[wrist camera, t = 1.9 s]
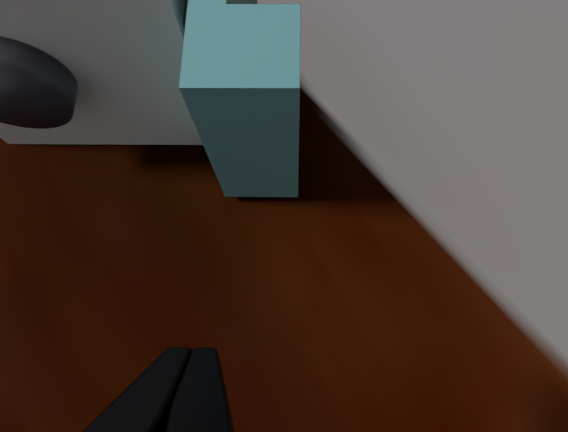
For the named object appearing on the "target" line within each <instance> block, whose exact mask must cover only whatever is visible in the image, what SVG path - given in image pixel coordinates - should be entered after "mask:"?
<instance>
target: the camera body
mask: <svg viewBox="0 0 568 432" xmlns="http://www.w3.org/2000/svg"><path fill="white" fill-rule="evenodd" d="M187 4H188V0H0V138H1V139H3V140H4V141H5V142H7V143H8V144H112V145H203V144H202V141H201V139H200V137H199V134H198V132H197V129H196V127H195V125H194V122H193V120H192V118H191V115H190V113H189V111H188V108H187V106H186V104H185V101H184V99H183V97H182V94H181V92H180V89H179V82H180V72H181V62H182V53H183V43H184V33H185V23H186V14H187Z"/></svg>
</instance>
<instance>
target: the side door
mask: <svg viewBox="0 0 568 432" xmlns="http://www.w3.org/2000/svg"><path fill="white" fill-rule="evenodd" d="M179 89H180V92H181V94H182V97H183V99H184V101H185V104H186V106H187V108H188V111H189V113H190V115H191V118H192V120H193V122H194V125H195V127H196V129H197V132H198V134H199V137H200V139H201V141H202V144H203V146H204V148H205V151H206V153H207V155H208V158H209V160H210V162H211V165H212V167H213V169H214V172H215V174H216V177H217V179H218V181H219V184H220V186H221V188H222V191H223V193H224V195H225V197H298V171H299V111H300V4H257V0H188V4H187V14H186V23H185V33H184V43H183V53H182V62H181V72H180V82H179Z"/></svg>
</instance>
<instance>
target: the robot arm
mask: <svg viewBox="0 0 568 432" xmlns="http://www.w3.org/2000/svg"><path fill="white" fill-rule="evenodd" d="M83 432H234V428H233V423H232V418H231V413H230V408H229V403H228V399H227V394H226V389H225V384H224V379H223V374H222V370H221V365H220V360H219V355H218V351H217V349H215V348H195V349H193V350H192V349H191V348H188V347H170V348H168V349H166V350H165V351H164V352H163V353H162V354H161V355H160V356H159V357H158V358H157V359H156V360H155V361H154V362H153V363H152V364H151V365H150V366H149V367H148V368H147V369H146V370H145V371H144V372H143V373H142V374H141V375H140V376H139V377H138V378H137V379H136V380H135V381H134V382H133V383H132V384H131V385H130V386H128V387H127V388H126V389H125V390H124V391H123V392H122V393H121V394H120V395H119V396H118V397H117V398H116V399H115V400H114V401H113V402H112V403H111V404H110V405H109V406H108V407H107V408H106V409H105V410H104V411H103V412H102V413H101V414H100V415H99V416H98V417H97V418H96V419H95V420H94V421H93V422H92V423H91V424H90V425H89V426H88V427H87V428H86V429H85V430H84V431H83Z"/></svg>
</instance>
